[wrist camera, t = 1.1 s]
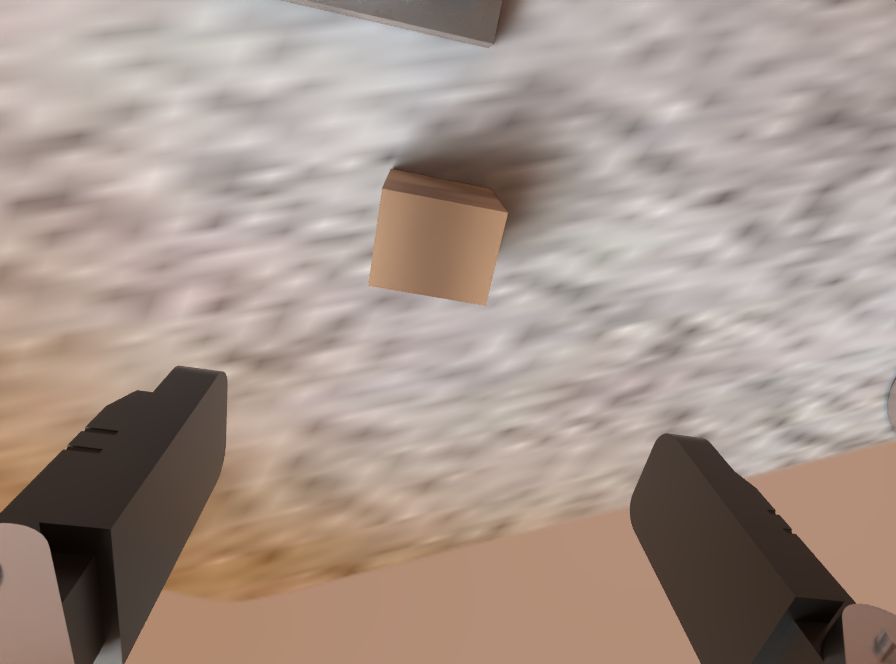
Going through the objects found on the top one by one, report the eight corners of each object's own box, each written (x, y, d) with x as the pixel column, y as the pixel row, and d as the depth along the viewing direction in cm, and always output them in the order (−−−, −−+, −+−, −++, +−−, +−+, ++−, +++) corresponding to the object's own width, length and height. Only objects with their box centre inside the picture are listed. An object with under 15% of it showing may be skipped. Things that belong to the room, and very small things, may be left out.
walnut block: (489, 188, 26) (507, 212, 21) (473, 264, 28) (485, 305, 22) (390, 168, 25) (382, 188, 20) (379, 247, 27) (368, 285, 22)
